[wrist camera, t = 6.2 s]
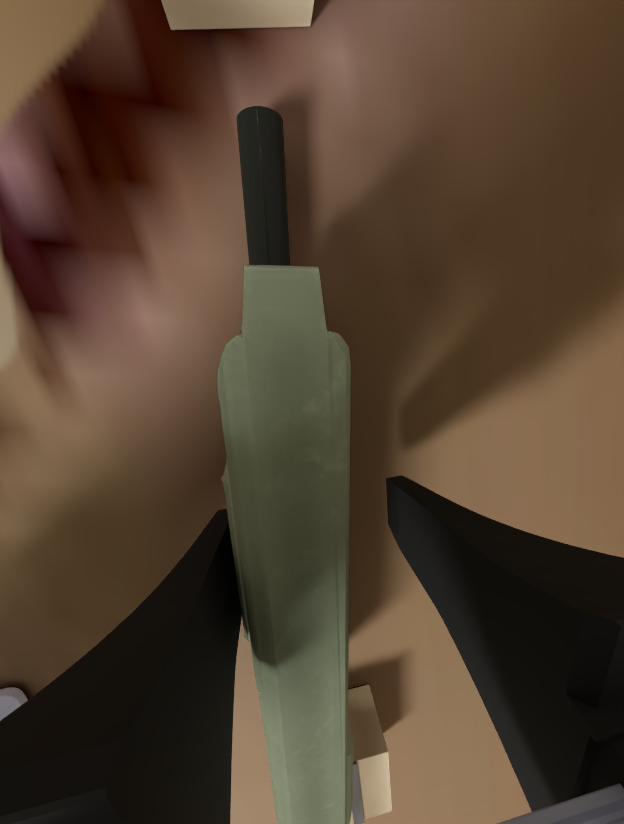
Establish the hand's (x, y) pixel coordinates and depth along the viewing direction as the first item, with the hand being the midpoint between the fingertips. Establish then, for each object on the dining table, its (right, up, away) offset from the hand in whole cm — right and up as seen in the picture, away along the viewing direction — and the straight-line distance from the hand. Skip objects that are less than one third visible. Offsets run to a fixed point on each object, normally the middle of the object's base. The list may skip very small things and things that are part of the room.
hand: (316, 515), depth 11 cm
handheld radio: (-1, +1, +3) cm, 3 cm away
